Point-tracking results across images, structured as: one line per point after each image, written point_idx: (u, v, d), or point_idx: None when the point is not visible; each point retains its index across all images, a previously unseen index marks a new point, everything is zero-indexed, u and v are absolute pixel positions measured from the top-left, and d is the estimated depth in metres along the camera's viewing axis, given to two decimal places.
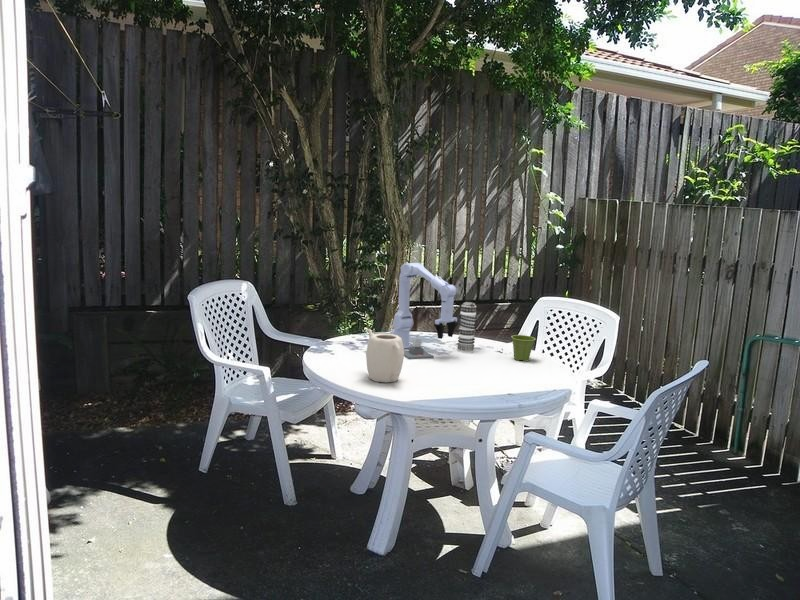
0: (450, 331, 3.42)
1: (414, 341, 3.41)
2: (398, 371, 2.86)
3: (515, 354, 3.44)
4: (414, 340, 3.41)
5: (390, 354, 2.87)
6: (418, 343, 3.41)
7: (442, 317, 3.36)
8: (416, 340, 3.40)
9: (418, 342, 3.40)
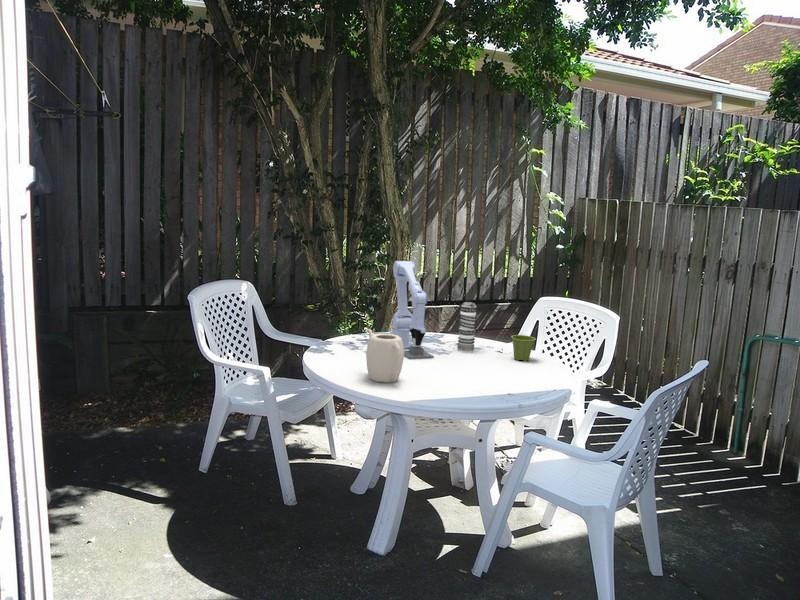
0: None
1: (414, 341, 3.41)
2: (398, 371, 2.86)
3: (515, 354, 3.44)
4: (414, 340, 3.41)
5: (390, 354, 2.87)
6: None
7: None
8: None
9: None
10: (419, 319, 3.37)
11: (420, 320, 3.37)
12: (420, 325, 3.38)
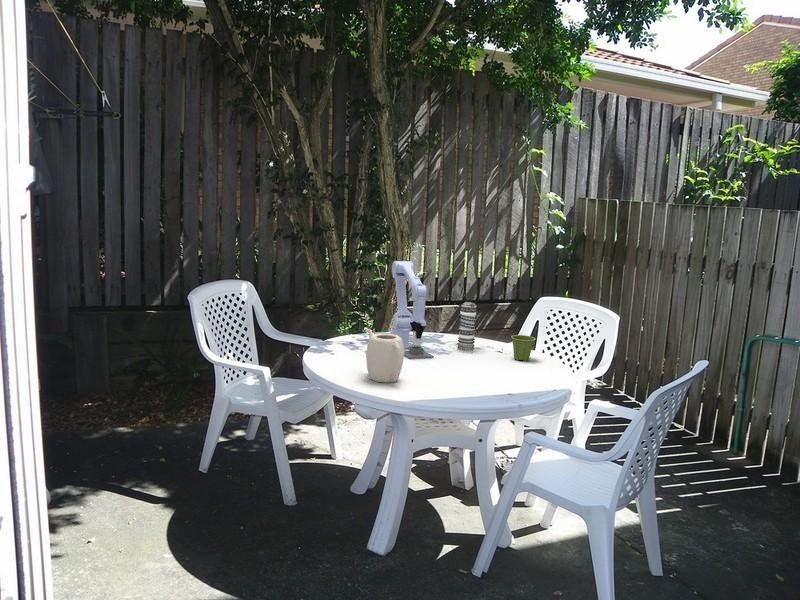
0: None
1: (414, 334, 3.40)
2: (398, 371, 2.86)
3: (515, 354, 3.44)
4: (414, 333, 3.40)
5: (390, 354, 2.87)
6: None
7: None
8: None
9: None
10: (419, 312, 3.37)
11: (421, 312, 3.37)
12: (420, 318, 3.37)
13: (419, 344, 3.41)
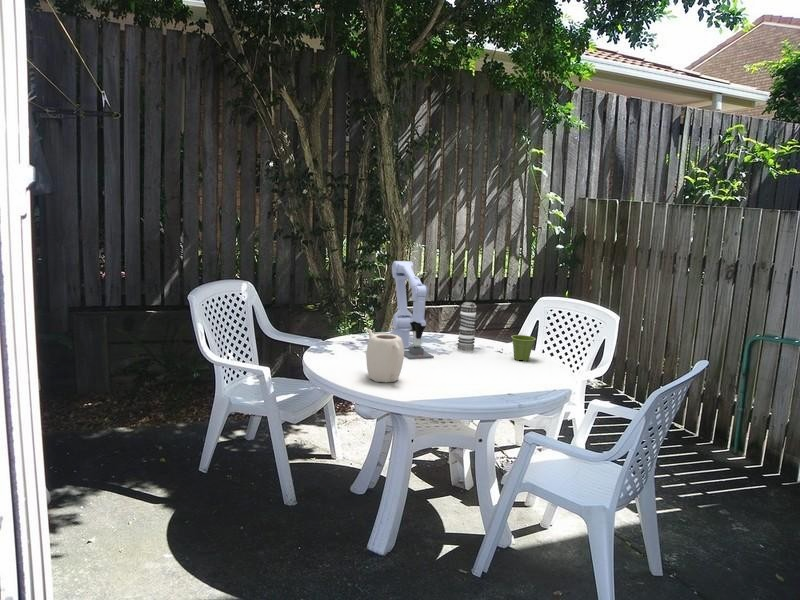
0: None
1: (414, 334, 3.40)
2: (398, 371, 2.86)
3: (515, 354, 3.44)
4: (414, 333, 3.40)
5: (390, 354, 2.87)
6: None
7: None
8: None
9: None
10: (419, 312, 3.37)
11: (421, 312, 3.37)
12: (420, 318, 3.37)
13: (419, 344, 3.41)
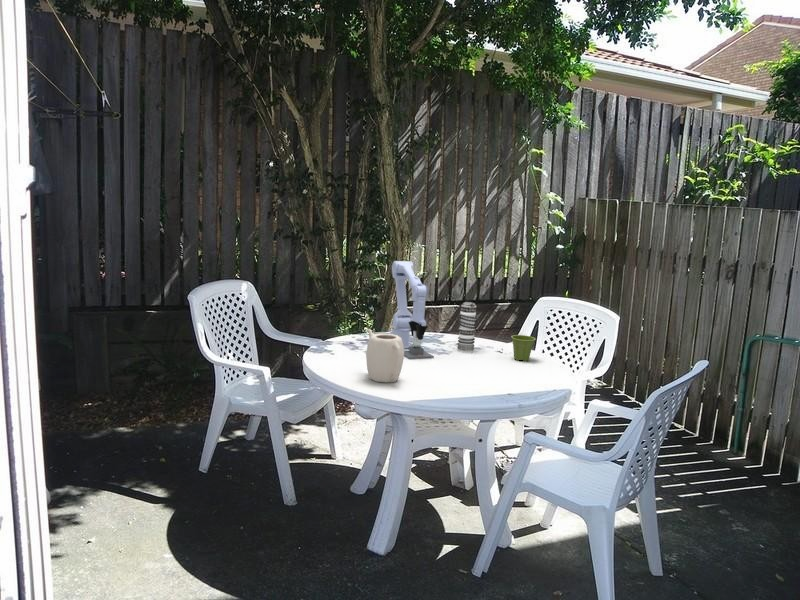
0: None
1: (414, 334, 3.40)
2: (398, 371, 2.86)
3: (515, 354, 3.44)
4: (414, 333, 3.40)
5: (390, 354, 2.87)
6: None
7: None
8: (416, 333, 3.39)
9: None
10: (419, 312, 3.37)
11: (421, 312, 3.37)
12: (420, 318, 3.37)
13: (419, 344, 3.41)
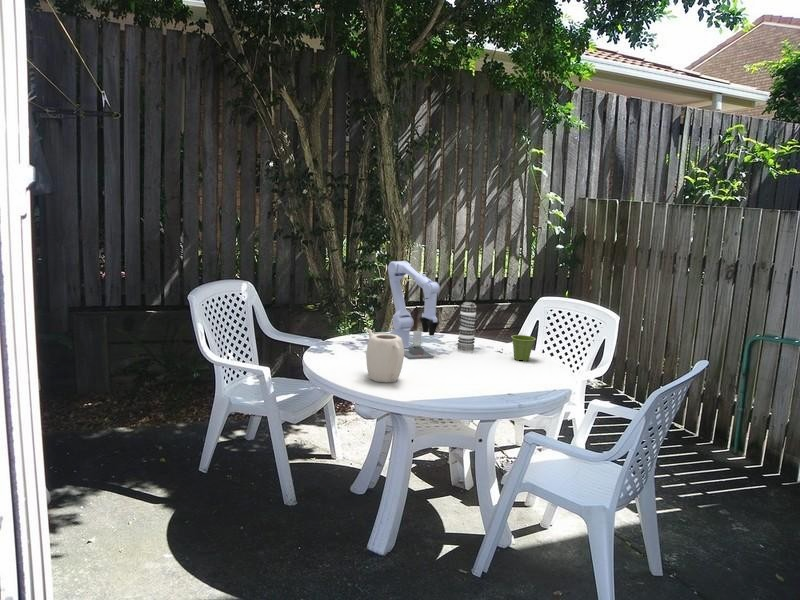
0: None
1: (414, 334, 3.40)
2: (398, 371, 2.86)
3: (515, 354, 3.44)
4: (414, 333, 3.40)
5: (390, 354, 2.87)
6: (418, 336, 3.40)
7: None
8: (416, 333, 3.39)
9: (418, 335, 3.40)
10: (431, 308, 3.40)
11: (432, 309, 3.40)
12: (432, 314, 3.41)
13: (419, 344, 3.41)
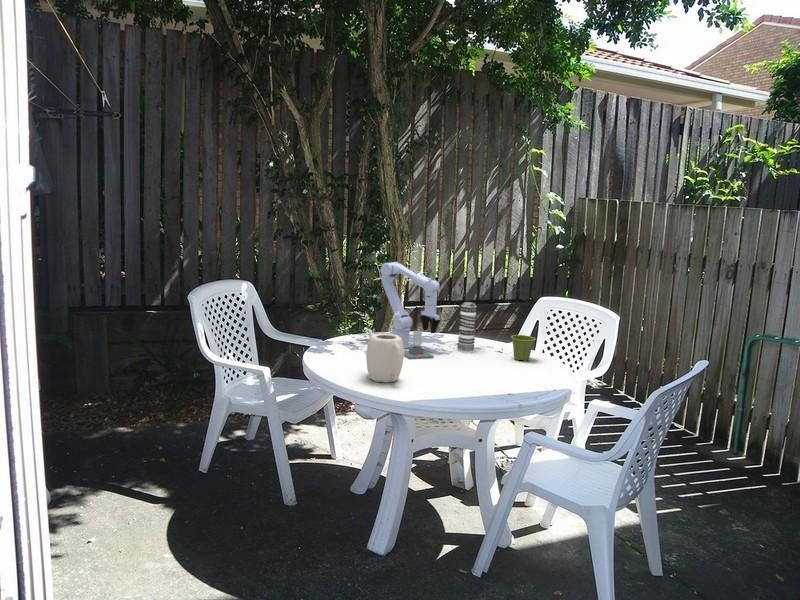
0: None
1: (414, 334, 3.40)
2: (398, 371, 2.86)
3: (515, 354, 3.44)
4: (414, 333, 3.40)
5: (390, 354, 2.87)
6: (418, 336, 3.40)
7: None
8: (416, 333, 3.39)
9: (418, 335, 3.40)
10: (432, 306, 3.46)
11: (433, 307, 3.46)
12: (433, 312, 3.47)
13: (419, 344, 3.41)
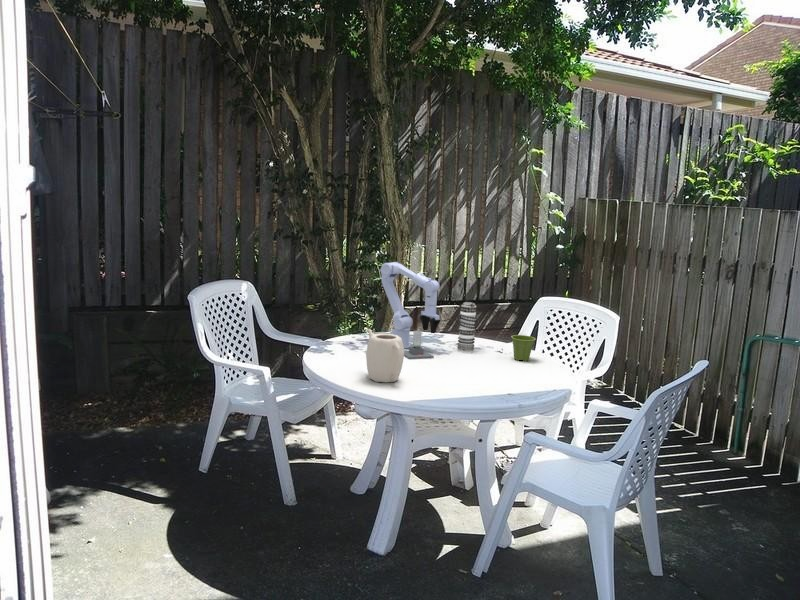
0: None
1: (414, 334, 3.40)
2: (398, 371, 2.86)
3: (515, 354, 3.44)
4: (414, 333, 3.40)
5: (390, 354, 2.87)
6: (418, 336, 3.40)
7: None
8: (416, 333, 3.39)
9: (418, 335, 3.40)
10: (432, 306, 3.46)
11: (433, 307, 3.46)
12: (433, 312, 3.47)
13: (419, 344, 3.41)
